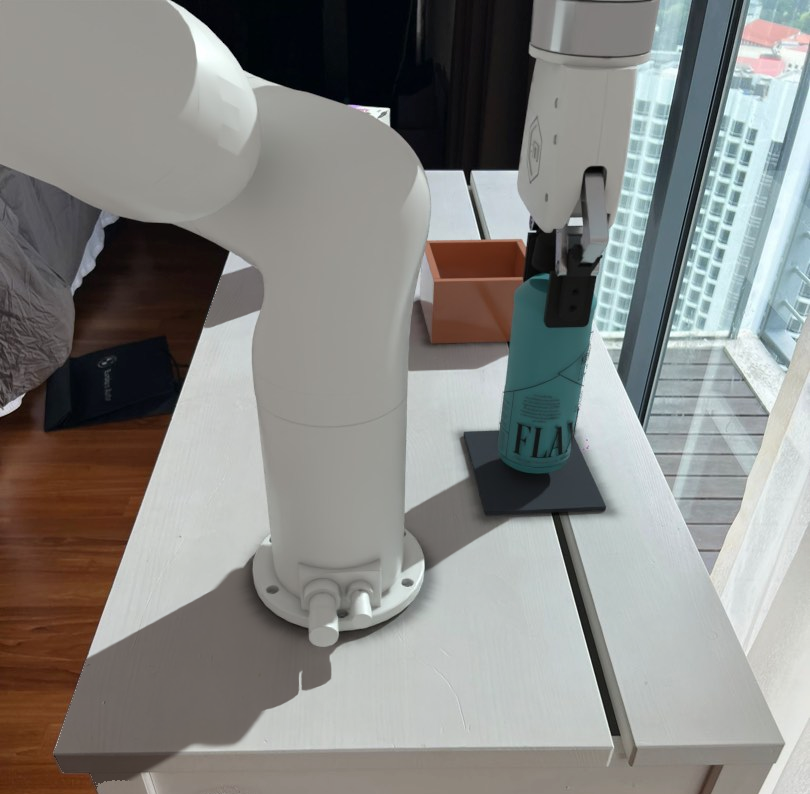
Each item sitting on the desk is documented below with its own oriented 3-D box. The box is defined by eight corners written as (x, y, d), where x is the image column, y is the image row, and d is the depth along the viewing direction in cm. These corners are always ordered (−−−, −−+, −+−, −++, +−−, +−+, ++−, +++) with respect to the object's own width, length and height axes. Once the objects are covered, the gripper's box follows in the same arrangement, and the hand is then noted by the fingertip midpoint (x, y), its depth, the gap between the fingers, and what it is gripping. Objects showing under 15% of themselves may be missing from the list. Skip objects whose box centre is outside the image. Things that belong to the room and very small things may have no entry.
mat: (605, 510, 69) (606, 506, 69) (485, 515, 68) (485, 511, 68) (569, 431, 78) (570, 427, 78) (463, 435, 77) (463, 431, 77)
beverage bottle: (498, 490, 70) (525, 253, 57) (489, 445, 75) (512, 219, 62) (575, 489, 70) (620, 254, 57) (561, 445, 75) (599, 220, 63)
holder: (536, 341, 92) (544, 279, 87) (431, 343, 91) (433, 281, 86) (515, 296, 101) (521, 238, 96) (419, 298, 100) (421, 240, 95)
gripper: (506, 6, 58) (485, 260, 69) (566, 57, 45) (528, 360, 56) (611, 7, 59) (573, 259, 70) (702, 57, 45) (637, 357, 57)
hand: (553, 302), depth 63 cm, fingers closed on beverage bottle, 6 cm apart
